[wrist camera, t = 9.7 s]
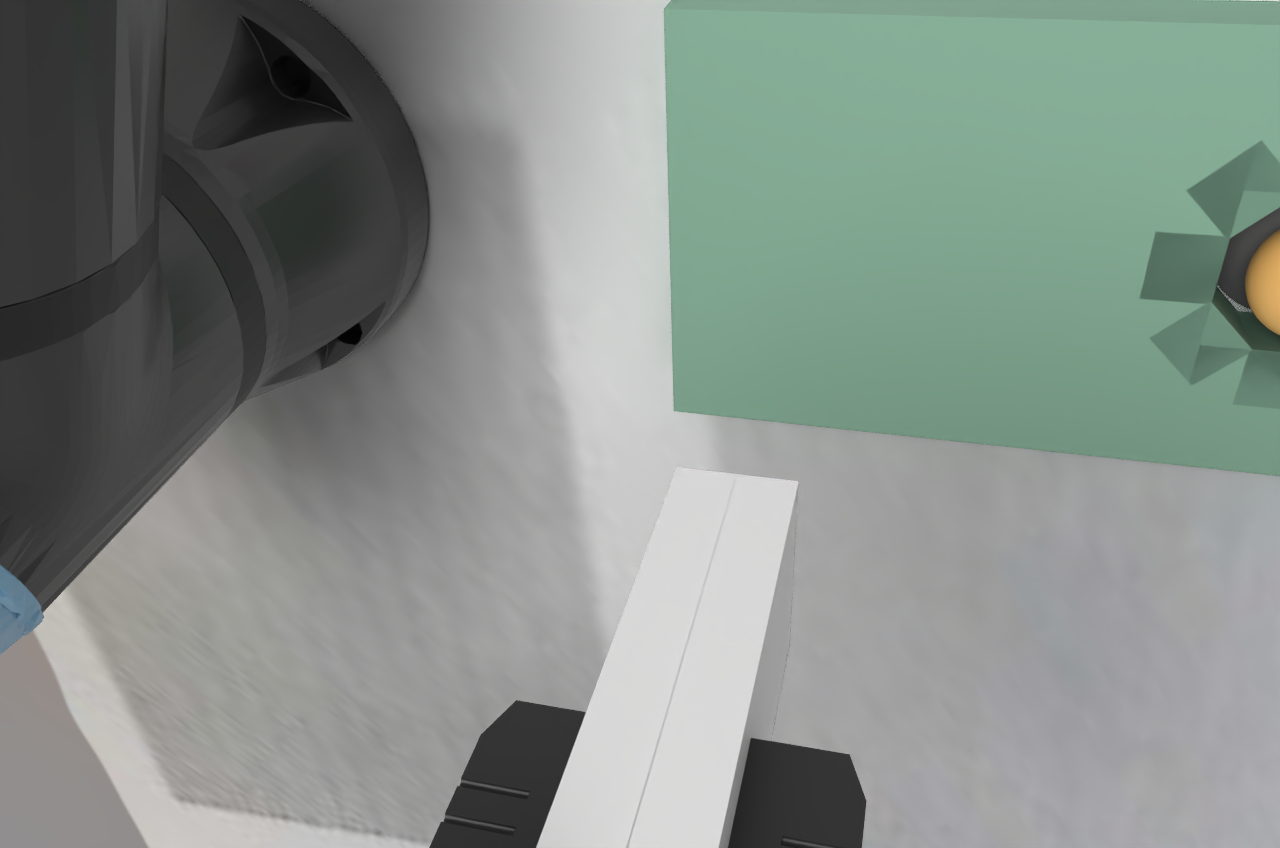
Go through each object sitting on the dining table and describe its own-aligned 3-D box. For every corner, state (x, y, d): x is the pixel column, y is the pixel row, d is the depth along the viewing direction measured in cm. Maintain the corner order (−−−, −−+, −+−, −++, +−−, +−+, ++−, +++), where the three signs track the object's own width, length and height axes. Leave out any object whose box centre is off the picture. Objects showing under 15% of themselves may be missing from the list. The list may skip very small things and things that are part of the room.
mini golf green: (687, 375, 42) (598, 600, 32) (681, -12, 34) (560, 129, 25) (1400, 447, 37) (1552, 741, 27) (1587, 8, 29) (1896, 198, 19)
